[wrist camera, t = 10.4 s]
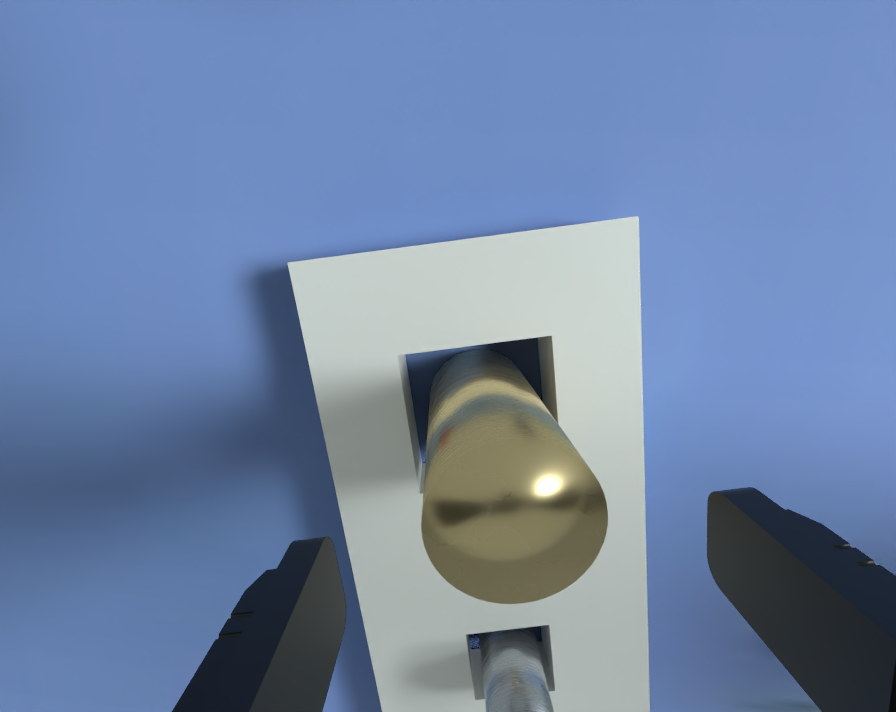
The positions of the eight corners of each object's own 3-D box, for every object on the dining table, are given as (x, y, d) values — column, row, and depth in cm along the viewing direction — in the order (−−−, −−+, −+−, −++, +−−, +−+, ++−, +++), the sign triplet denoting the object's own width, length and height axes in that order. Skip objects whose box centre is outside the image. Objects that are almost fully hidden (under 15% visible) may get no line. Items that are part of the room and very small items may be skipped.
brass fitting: (522, 342, 18) (603, 426, 9) (530, 435, 19) (611, 592, 10) (423, 356, 18) (408, 452, 9) (436, 447, 19) (434, 614, 10)
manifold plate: (609, 222, 17) (638, 216, 14) (627, 696, 22) (650, 750, 20) (309, 262, 17) (287, 262, 14) (401, 722, 22) (396, 779, 20)
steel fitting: (526, 590, 21) (560, 723, 15) (531, 633, 21) (565, 777, 15) (473, 596, 21) (486, 731, 15) (479, 639, 21) (494, 786, 15)
